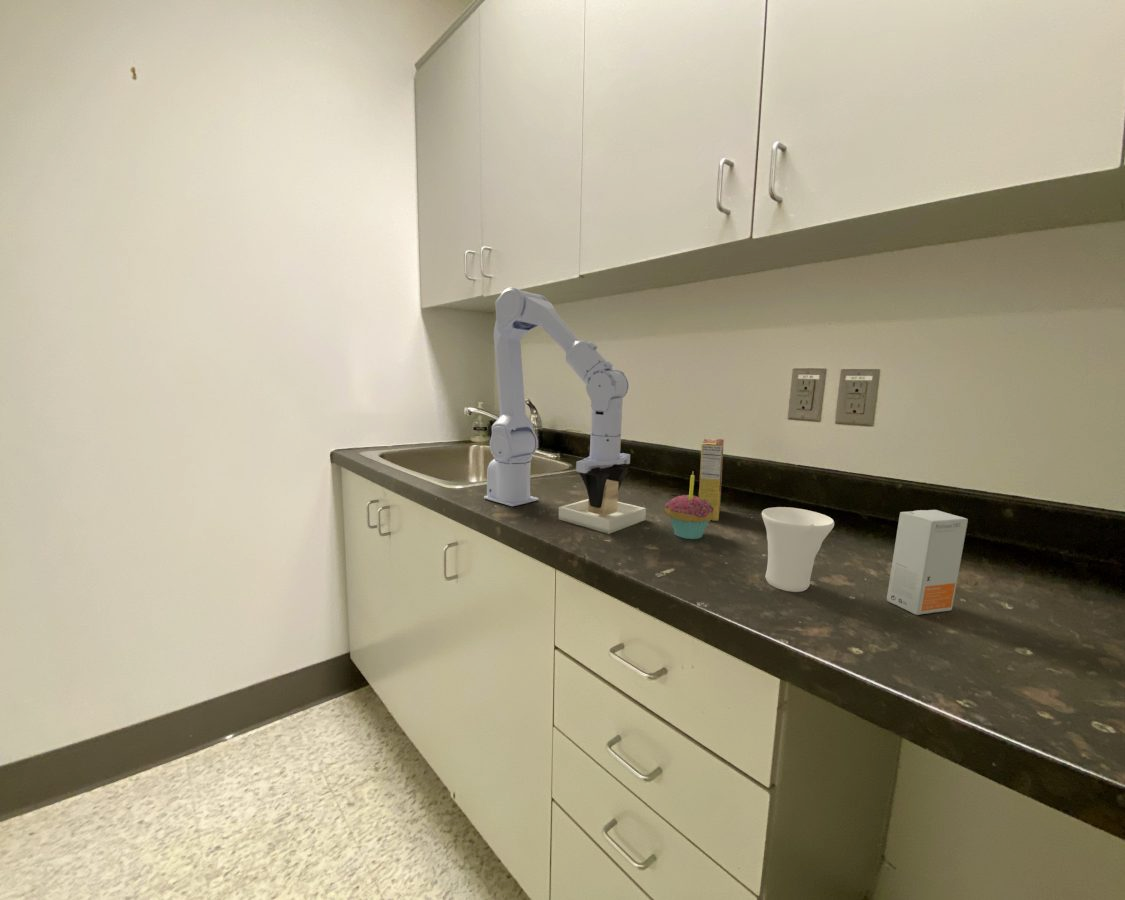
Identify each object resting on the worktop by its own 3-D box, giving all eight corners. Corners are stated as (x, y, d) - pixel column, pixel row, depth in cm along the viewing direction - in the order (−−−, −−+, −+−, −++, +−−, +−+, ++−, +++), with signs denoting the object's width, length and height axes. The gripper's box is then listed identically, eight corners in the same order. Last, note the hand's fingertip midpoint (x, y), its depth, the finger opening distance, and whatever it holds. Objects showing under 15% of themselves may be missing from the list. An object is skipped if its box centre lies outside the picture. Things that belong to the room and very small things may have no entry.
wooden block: (588, 511, 93) (589, 481, 92) (600, 507, 96) (601, 478, 95) (604, 516, 90) (606, 484, 89) (617, 511, 93) (618, 481, 92)
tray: (558, 519, 93) (558, 507, 93) (596, 507, 102) (596, 496, 101) (608, 534, 85) (609, 520, 85) (645, 520, 94) (645, 508, 94)
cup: (765, 596, 62) (772, 522, 61) (748, 568, 71) (754, 503, 70) (838, 602, 61) (848, 527, 60) (811, 573, 70) (819, 507, 69)
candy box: (699, 507, 104) (704, 437, 102) (720, 510, 103) (725, 439, 100) (695, 519, 96) (701, 443, 93) (718, 521, 94) (724, 444, 92)
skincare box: (917, 617, 58) (932, 521, 56) (885, 601, 62) (897, 511, 60) (954, 611, 60) (969, 518, 58) (920, 596, 64) (934, 508, 62)
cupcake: (715, 544, 81) (721, 475, 79) (664, 540, 82) (668, 472, 81) (708, 529, 90) (713, 465, 88) (662, 525, 91) (666, 463, 89)
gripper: (599, 440, 83) (596, 516, 85) (644, 434, 94) (640, 501, 96) (568, 435, 87) (566, 508, 90) (614, 430, 98) (611, 495, 100)
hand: (602, 504), depth 93 cm, fingers closed on wooden block, 4 cm apart
